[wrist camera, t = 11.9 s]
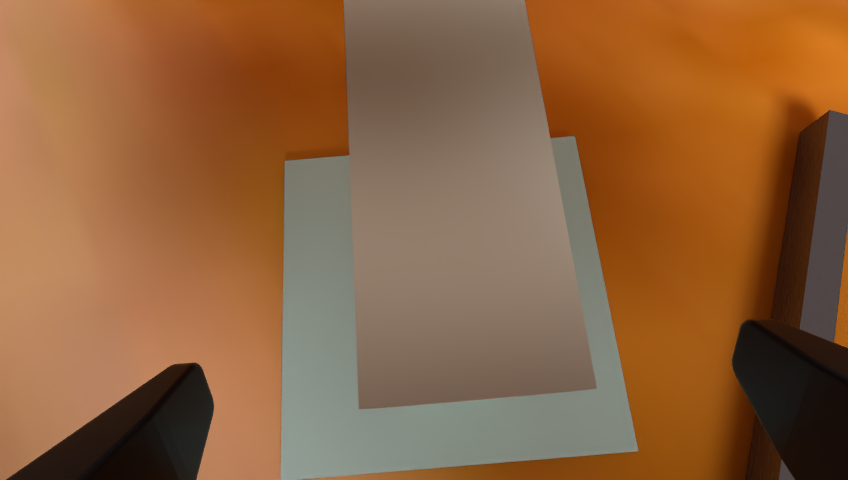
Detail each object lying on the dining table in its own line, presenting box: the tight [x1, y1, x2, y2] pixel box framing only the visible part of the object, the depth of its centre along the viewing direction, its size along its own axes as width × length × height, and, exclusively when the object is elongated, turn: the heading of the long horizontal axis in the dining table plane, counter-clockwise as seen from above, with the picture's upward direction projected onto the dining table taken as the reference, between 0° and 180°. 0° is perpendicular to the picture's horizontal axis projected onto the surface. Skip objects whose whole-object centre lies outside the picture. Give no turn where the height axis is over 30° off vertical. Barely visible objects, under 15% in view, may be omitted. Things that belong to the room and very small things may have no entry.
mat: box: [281, 136, 638, 480], centre depth 17 cm, size 11×11×1 cm
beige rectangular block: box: [344, 0, 597, 409], centre depth 12 cm, size 7×3×10 cm, turn 5°
